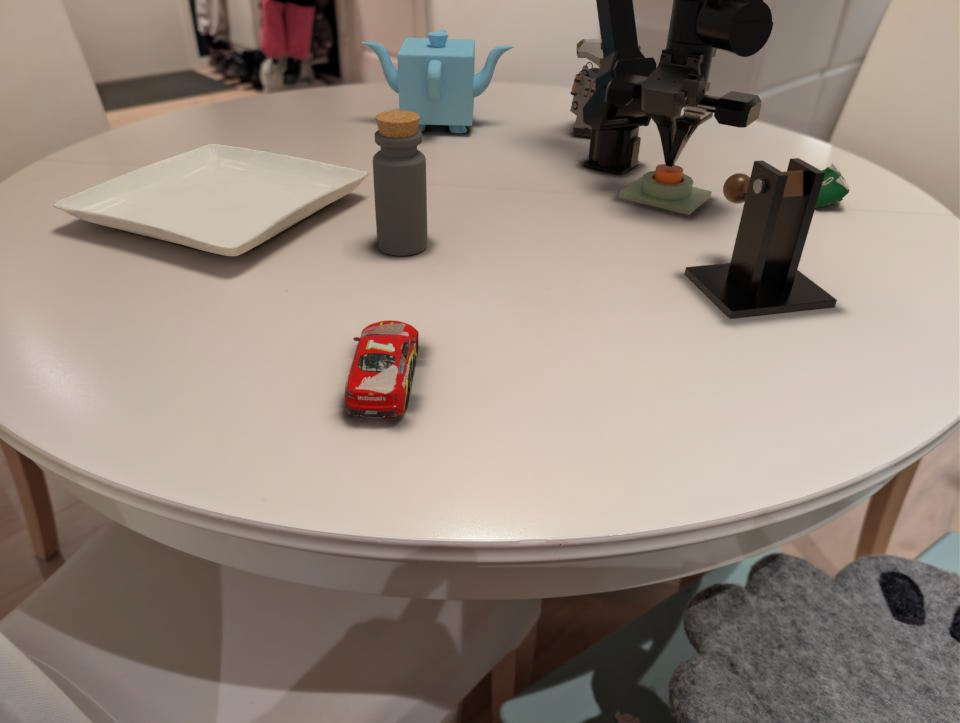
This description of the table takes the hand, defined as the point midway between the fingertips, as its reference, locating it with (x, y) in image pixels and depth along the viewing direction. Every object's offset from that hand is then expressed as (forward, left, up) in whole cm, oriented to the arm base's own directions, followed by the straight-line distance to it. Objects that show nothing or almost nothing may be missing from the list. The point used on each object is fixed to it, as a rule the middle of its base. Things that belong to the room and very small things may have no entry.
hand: (669, 165), depth 99 cm
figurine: (-21, +23, -5) cm, 31 cm away
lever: (+16, -17, +4) cm, 24 cm away
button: (0, 0, -2) cm, 2 cm away
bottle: (-19, -33, -5) cm, 38 cm away
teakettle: (-46, +10, -5) cm, 47 cm away
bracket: (+19, -19, -5) cm, 27 cm away
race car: (-3, -55, -5) cm, 55 cm away
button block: (0, 0, -5) cm, 5 cm away
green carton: (+17, +13, -5) cm, 22 cm away
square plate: (-43, -39, -5) cm, 58 cm away
